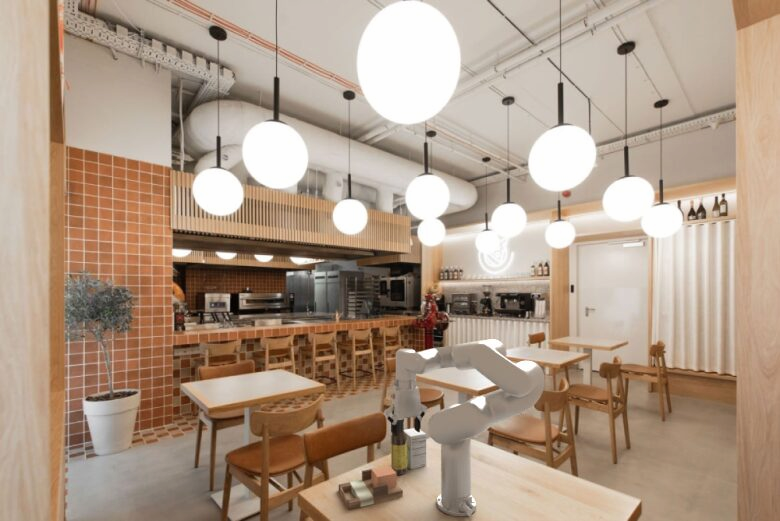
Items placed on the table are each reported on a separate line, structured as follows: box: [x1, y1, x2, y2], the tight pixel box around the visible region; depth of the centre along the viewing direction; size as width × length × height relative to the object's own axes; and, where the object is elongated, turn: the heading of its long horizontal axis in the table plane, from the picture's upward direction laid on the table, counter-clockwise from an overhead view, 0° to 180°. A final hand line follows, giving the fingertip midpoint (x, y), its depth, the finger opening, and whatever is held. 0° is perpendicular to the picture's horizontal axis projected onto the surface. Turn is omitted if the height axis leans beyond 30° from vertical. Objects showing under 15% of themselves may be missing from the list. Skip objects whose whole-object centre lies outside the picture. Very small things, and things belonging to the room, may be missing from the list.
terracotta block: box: [370, 464, 397, 489], centre depth 127 cm, size 6×7×4 cm
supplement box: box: [404, 427, 427, 470], centre depth 147 cm, size 7×7×13 cm
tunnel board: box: [338, 468, 404, 511], centre depth 125 cm, size 12×19×5 cm, turn 113°
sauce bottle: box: [390, 418, 408, 475], centre depth 141 cm, size 6×6×20 cm
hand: (405, 432), depth 132 cm, fingers open, 8 cm apart
